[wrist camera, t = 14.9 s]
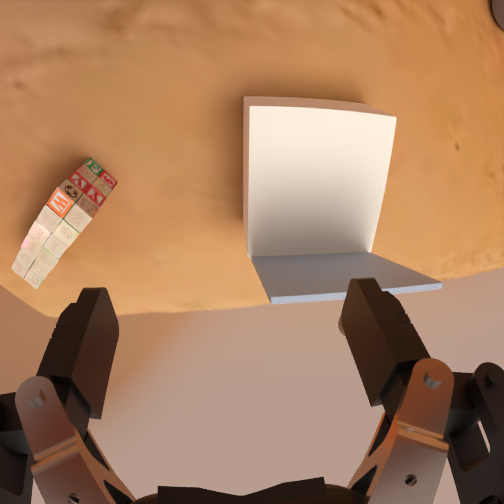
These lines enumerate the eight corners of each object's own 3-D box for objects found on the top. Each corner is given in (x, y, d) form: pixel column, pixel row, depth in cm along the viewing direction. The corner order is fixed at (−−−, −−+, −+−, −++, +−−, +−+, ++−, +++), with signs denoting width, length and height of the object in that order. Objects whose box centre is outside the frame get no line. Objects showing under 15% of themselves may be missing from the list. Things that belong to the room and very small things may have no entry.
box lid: (271, 297, 26) (271, 359, 27) (442, 282, 27) (434, 336, 28) (251, 256, 44) (252, 297, 44) (368, 251, 45) (366, 289, 46)
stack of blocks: (55, 258, 53) (29, 302, 42) (31, 238, 50) (1, 279, 39) (118, 181, 46) (92, 219, 36) (90, 155, 43) (56, 187, 33)
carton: (243, 96, 41) (249, 106, 33) (364, 103, 42) (396, 117, 34) (242, 221, 52) (247, 257, 44) (348, 219, 54) (370, 252, 45)
